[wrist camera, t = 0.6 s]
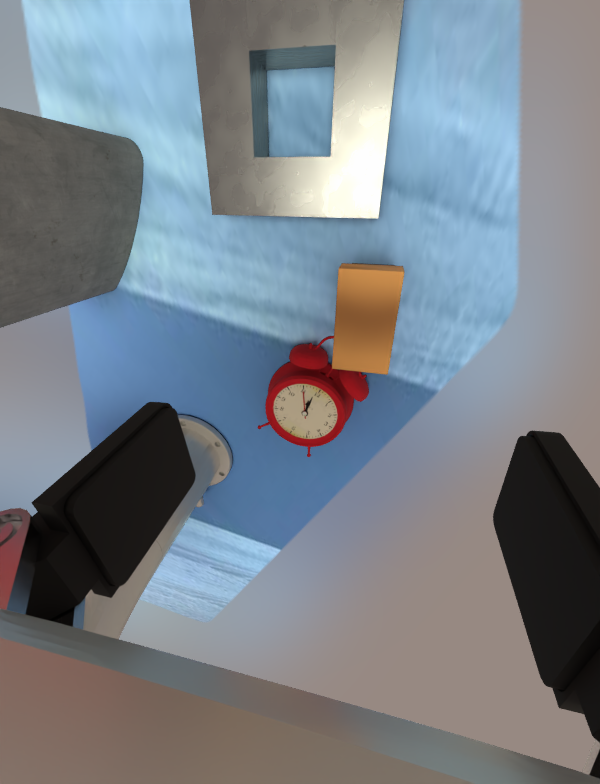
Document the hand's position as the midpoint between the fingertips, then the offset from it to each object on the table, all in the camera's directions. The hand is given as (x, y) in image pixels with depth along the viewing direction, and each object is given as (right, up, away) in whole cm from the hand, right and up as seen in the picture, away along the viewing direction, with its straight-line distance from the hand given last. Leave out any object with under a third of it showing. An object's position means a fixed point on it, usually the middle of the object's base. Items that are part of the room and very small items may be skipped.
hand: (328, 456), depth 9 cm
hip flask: (-20, +19, +26) cm, 38 cm away
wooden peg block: (+6, +12, +23) cm, 27 cm away
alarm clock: (+1, +3, +30) cm, 30 cm away
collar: (-1, +24, +18) cm, 30 cm away
